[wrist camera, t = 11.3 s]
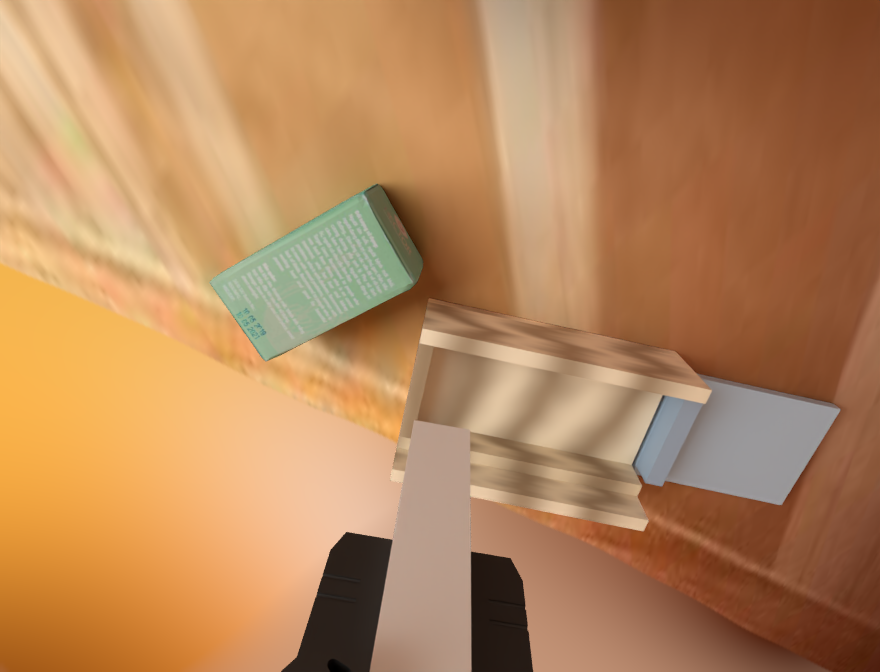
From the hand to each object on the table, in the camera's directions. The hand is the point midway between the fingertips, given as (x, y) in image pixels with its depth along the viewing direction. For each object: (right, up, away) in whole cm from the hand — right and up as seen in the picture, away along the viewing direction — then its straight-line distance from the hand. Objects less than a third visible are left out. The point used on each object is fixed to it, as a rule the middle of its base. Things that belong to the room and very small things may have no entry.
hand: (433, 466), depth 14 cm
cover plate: (+27, -6, +34) cm, 44 cm away
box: (-8, +10, +29) cm, 31 cm away
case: (+9, -2, +32) cm, 34 cm away
